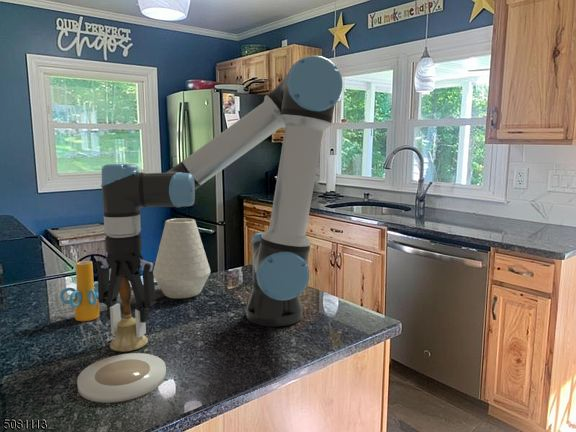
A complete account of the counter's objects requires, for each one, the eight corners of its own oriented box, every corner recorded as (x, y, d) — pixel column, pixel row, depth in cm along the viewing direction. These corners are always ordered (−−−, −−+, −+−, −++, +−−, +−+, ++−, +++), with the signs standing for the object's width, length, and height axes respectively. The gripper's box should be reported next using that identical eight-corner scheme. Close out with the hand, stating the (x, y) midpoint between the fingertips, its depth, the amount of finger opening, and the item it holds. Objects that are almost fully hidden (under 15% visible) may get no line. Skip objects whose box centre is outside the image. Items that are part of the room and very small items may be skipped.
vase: (190, 281, 149) (189, 214, 146) (222, 293, 137) (220, 220, 134) (143, 292, 137) (140, 220, 133) (172, 306, 125) (170, 227, 121)
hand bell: (125, 355, 94) (121, 283, 92) (101, 346, 99) (97, 277, 96) (155, 341, 101) (152, 274, 99) (132, 333, 106) (128, 269, 103)
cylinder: (90, 328, 109) (86, 270, 107) (53, 324, 111) (49, 267, 109) (118, 311, 121) (115, 258, 119) (85, 308, 123) (81, 256, 121)
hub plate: (180, 364, 91) (180, 357, 90) (137, 408, 75) (136, 399, 75) (112, 356, 94) (111, 349, 94) (57, 395, 79) (57, 387, 78)
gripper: (170, 232, 98) (174, 331, 101) (97, 229, 102) (103, 324, 105) (152, 239, 91) (157, 344, 94) (74, 235, 95) (82, 336, 98)
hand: (128, 333), depth 100 cm, fingers closed on hand bell, 6 cm apart
